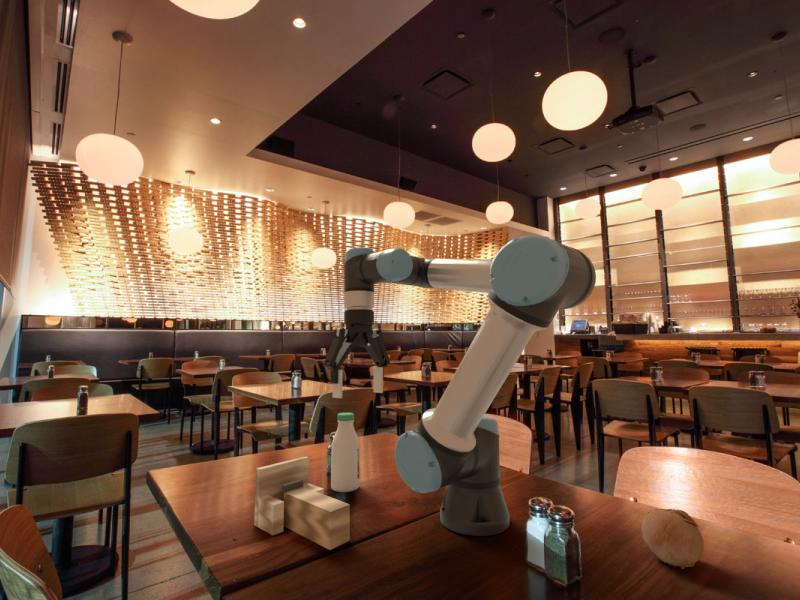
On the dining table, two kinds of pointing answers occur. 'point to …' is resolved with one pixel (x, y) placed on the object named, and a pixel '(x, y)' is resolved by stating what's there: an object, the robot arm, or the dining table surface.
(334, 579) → the dining table surface
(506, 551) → the dining table surface
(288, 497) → the rectangular wooden block
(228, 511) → the dining table surface
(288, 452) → the dining table surface
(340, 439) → the milk bottle
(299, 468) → the upright wooden board
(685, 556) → the beige rounded lump
